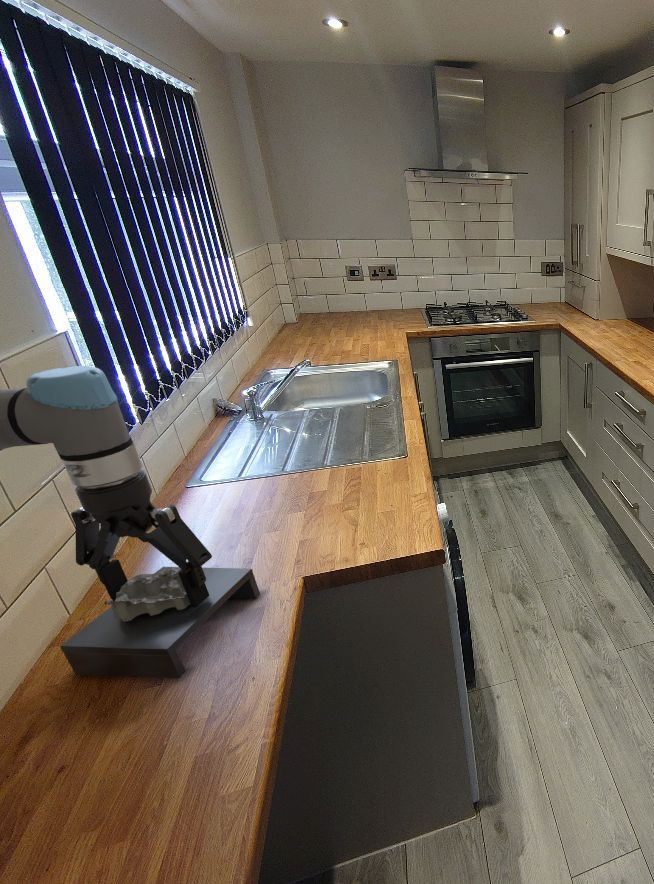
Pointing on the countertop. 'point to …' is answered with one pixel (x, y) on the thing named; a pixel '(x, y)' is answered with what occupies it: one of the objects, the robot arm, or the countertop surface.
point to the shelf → (152, 632)
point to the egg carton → (149, 595)
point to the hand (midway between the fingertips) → (162, 600)
